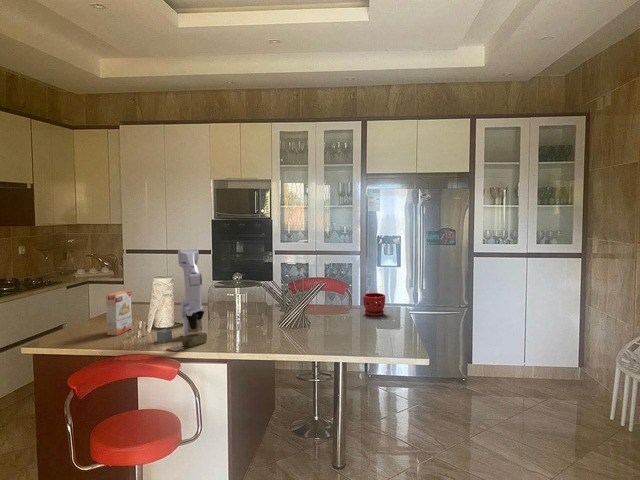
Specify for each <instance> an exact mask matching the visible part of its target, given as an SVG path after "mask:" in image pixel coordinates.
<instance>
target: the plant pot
mask: <svg viewBox="0 0 640 480" xmlns="http://www.w3.org/2000/svg"><path fill="white" fill-rule="evenodd" d="M362 298H363V299H362V301H363V306H364V307H363V308H364V314H365V315H368V316H373V317H376V316H378V317H379V316H382V315H383V314H385V313H384V312H385V310H384V309H385V305H386V294H384V293H379V292H367V293H364V294H363V297H362Z"/></svg>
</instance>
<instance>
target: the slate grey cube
mask: <svg viewBox="0 0 640 480" xmlns="http://www.w3.org/2000/svg"><path fill="white" fill-rule="evenodd" d="M156 341H157V342H158V343H162V344H163V343H168V342H171V341H173V330H170V329H166V328H165V329H160V330H157V331H156Z"/></svg>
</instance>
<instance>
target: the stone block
mask: <svg viewBox="0 0 640 480" xmlns="http://www.w3.org/2000/svg"><path fill="white" fill-rule="evenodd" d="M181 337H182V339H181V340H182V341H181V342H182V343H181V345H182V347H186V348H187V347H195V346H199V345H202V344H205V343H207V341H208V334H207V333H206V332H204V333H202V332H199V333H194V334H190V335H186V336H181Z"/></svg>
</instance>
